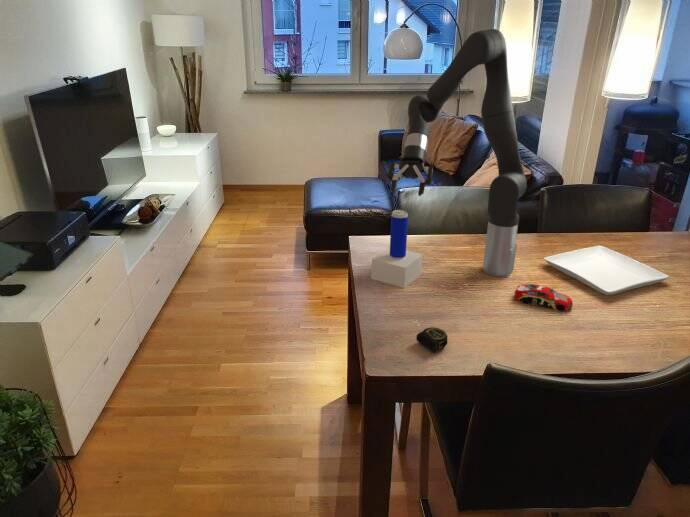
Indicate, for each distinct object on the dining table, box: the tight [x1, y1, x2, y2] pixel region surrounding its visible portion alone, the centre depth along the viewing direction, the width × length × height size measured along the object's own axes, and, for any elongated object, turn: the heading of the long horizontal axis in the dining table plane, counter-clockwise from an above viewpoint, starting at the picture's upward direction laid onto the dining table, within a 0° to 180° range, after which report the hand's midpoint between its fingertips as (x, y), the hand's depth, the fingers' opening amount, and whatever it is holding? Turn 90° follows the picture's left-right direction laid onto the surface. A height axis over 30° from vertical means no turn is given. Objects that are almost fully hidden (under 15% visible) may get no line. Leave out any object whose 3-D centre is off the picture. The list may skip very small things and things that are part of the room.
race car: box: [513, 283, 574, 313], centre depth 155 cm, size 16×7×5 cm, turn 62°
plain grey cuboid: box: [370, 246, 424, 289], centre depth 170 cm, size 12×12×7 cm
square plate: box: [543, 245, 670, 296], centre depth 172 cm, size 27×27×4 cm
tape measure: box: [415, 326, 448, 353], centre depth 134 cm, size 7×7×4 cm
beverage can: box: [389, 209, 409, 259], centre depth 165 cm, size 5×5×15 cm
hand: (406, 193), depth 169 cm, fingers open, 8 cm apart
